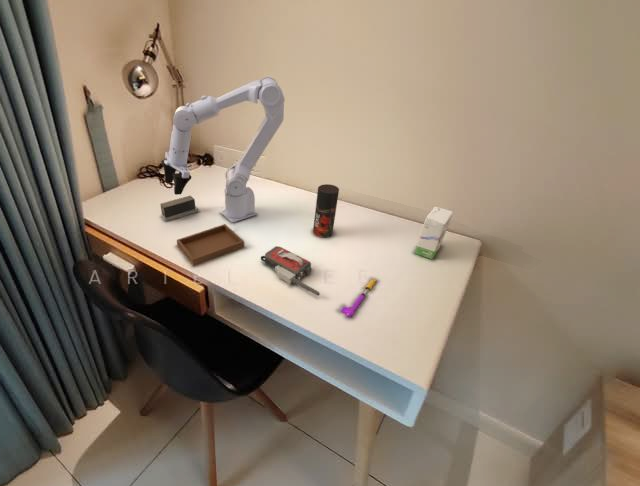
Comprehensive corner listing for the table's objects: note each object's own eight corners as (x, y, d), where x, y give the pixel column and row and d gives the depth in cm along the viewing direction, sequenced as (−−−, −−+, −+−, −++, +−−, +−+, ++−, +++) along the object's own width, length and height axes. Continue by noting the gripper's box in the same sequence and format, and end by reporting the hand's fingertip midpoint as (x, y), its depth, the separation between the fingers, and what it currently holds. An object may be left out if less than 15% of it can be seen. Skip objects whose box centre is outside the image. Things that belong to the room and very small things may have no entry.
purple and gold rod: (350, 318, 80) (376, 282, 90) (350, 314, 79) (376, 278, 90) (339, 315, 82) (366, 279, 92) (339, 311, 81) (366, 276, 91)
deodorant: (336, 231, 110) (343, 188, 101) (325, 240, 106) (332, 195, 98) (319, 225, 113) (325, 182, 105) (309, 232, 109) (313, 189, 101)
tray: (225, 230, 112) (225, 223, 111) (244, 247, 104) (244, 241, 102) (177, 246, 105) (176, 239, 104) (193, 266, 97) (192, 259, 96)
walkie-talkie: (254, 265, 97) (315, 300, 85) (254, 252, 94) (317, 287, 82) (275, 251, 102) (335, 283, 90) (276, 238, 99) (338, 269, 87)
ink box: (432, 260, 97) (445, 223, 90) (413, 253, 100) (425, 217, 93) (441, 246, 102) (454, 210, 96) (423, 240, 105) (434, 205, 98)
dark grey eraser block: (193, 207, 125) (192, 194, 122) (198, 211, 122) (197, 198, 119) (161, 216, 120) (159, 203, 117) (165, 221, 117) (163, 208, 114)
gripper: (158, 138, 109) (153, 177, 116) (176, 158, 99) (170, 200, 106) (179, 138, 112) (173, 177, 120) (198, 158, 103) (191, 198, 110)
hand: (173, 188), depth 113 cm, fingers open, 7 cm apart
